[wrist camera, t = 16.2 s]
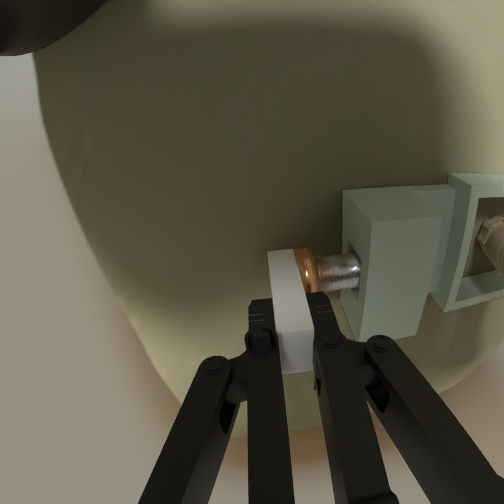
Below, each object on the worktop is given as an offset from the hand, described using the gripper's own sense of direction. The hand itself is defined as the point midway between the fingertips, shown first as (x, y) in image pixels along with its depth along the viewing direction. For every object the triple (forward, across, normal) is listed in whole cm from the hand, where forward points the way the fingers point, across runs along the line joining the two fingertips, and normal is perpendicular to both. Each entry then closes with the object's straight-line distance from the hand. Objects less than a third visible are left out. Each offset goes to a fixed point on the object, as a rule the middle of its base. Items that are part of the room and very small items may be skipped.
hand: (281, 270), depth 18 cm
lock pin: (+1, +4, 0) cm, 4 cm away
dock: (+1, +13, 0) cm, 13 cm away
